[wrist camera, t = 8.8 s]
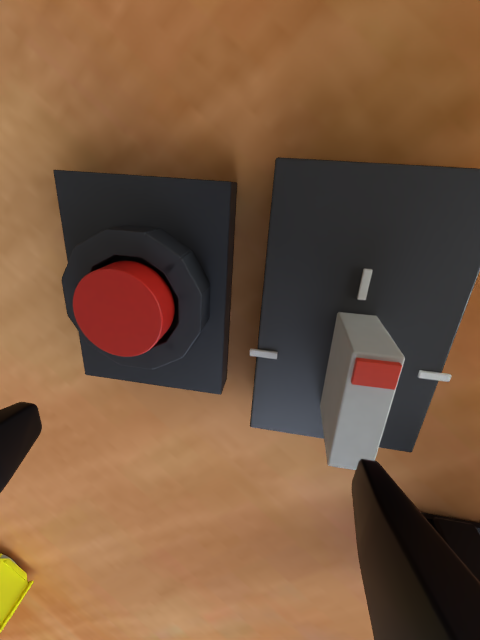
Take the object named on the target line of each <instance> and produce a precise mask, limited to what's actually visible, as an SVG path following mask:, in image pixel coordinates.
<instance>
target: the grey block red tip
mask: <svg viewBox="0 0 480 640" xmlns="http://www.w3.org/2000/svg"><path fill="white" fill-rule="evenodd" d="M404 360H405V357H404V355H403V354H402V353H401V351H400V350H399V348H398V347H397V345H396V344H395V342H394V341H393V339H392V338H391V336H390V335H389V333H388V332H387V330H386V329H385V327H384V326H383V325H382V323H381V322H380V320H379V319H378V317H377V316H373V315H363V314H353V313H343V312H338V313H337V318H336V323H335V328H334V334H333V339H332V344H331V350H330V355H329V360H328V366H327V371H326V376H325V382H324V387H323V392H322V398H321V403H320V410H321V418H322V425H323V433H324V441H325V448H326V456H327V463H328V465H329V466H333V467H339V468H346V469H352V470H356V468H357V465H358V462H359V460H360V459H368V460H373V461H375V458H376V454H377V451H378V448H379V444H380V441H381V438H382V434H383V431H384V428H385V424H386V421H387V418H388V414H389V411H390V407H391V404H392V401H393V397H394V394H395V391H396V387H397V384H398V381H399V377H400V374H401V371H402V367H403V364H404Z"/></svg>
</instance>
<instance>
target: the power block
mask: <svg viewBox="0 0 480 640" xmlns="http://www.w3.org/2000/svg"><path fill="white" fill-rule="evenodd" d="M54 177H55V183H56V190H57V196H58V202H59V209H60V215H61V222H62V228H63V234H64V241H65V247H66V253H67V260H68V264H67V267H66V269H65V272H64V274H63V277H62V285H63V291H64V297H65V303H66V309H67V314H68V316H69V318H70V319H71V321H72V322H73V324H74V325H75V327H76V328H77V329H78V331H79V336H80V343H81V349H82V356H83V362H84V368H85V374H86V375H91V376H98V377H105V378H112V379H119V380H125V381H132V382H139V383H146V384H153V385H159V386H166V387H173V388H180V389H186V390H193V391H200V392H207V393H214V394H220V395H221V394H222V391H223V388H224V385H225V382H226V379H227V360H228V342H229V323H230V305H231V286H232V268H233V249H234V231H235V212H236V194H237V183H236V182H230V181H215V180H200V179H185V178H170V177H155V176H140V175H125V174H110V173H95V172H80V171H65V170H54ZM118 261H135V262H138V263H142V264H144V265H146V266H148V267H150V268H151V269H153V270H154V271H155V272H157V273H158V274H159V275H160V276H161V277H162V278H163V279H164V281H165V282H166V283H167V285H168V286H169V288H170V290H171V293H172V296H173V299H174V305H175V314H174V319H173V322H172V324H171V326H170V328H169V329H168V331H167V332H166V333H165V334H164V335H163V336H162V337H161V339H160V340H159V341H158V342H157V343H156V344H155V345H154V346H153V347H152V348H151V349H150V350H149V351H147V352H145V353H143V354H140V355H137V356H132V357H123V356H117V355H113V354H110V353H108V352H105V351H103V350H102V349H100V348H98V347H97V346H96V345H94V344H93V343H92V342H91V341H90V340H89V339H88V338H87V337H86V336H85V335H84V333H83V332H82V330H81V329H80V327H79V325H78V323H77V321H76V318H75V315H74V311H73V296H74V292H75V289H76V287H77V285H78V283H79V282H80V281H81V279H82V278H83V277H84V276H85V275H87V274H88V273H90V272H92V271H94V270H97V269H99V268H102V267H104V266H107V265H109V264H112V263H114V262H118Z"/></svg>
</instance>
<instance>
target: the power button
mask: <svg viewBox="0 0 480 640" xmlns="http://www.w3.org/2000/svg"><path fill="white" fill-rule="evenodd" d="M73 311H74V315H75V318H76V321H77V323H78V325H79V327H80V329H81V330H82V332H83V333H84V335H85V336H86V337H87V338H88V339H89V340H90V341H91V342H92V343H93V344H94V345H96V346H97V347H98V348H100V349H102V350H103V351H105V352H108V353H110V354H113V355H117V356H123V357H132V356H137V355H140V354H143V353H145V352H147V351H149V350H150V349H151V348H152V347H153V346H154V345H155V344H156V343H157V342H158V341H159V340H160V339H161V337H162V336H163V335H164V334H165V333H166V332H167V331H168V329H169V328H170V326H171V324H172V322H173V319H174V314H175V305H174V299H173V296H172V293H171V290H170V288H169V286H168V285H167V283H166V282H165V281H164V279H163V278H162V277H161V276H160V275H159V274H158V273H157V272H155V271H154V270H153V269H151V268H150V267H148V266H146V265H144V264H142V263H138V262H135V261H118V262H114V263H112V264H109V265H107V266H104V267H102V268H99V269H97V270H94V271H92V272H90V273H88V274H87V275H85V276H84V277H83V278H82V279H81V281H80V282H79V283H78V285H77V287H76V289H75V292H74V296H73Z"/></svg>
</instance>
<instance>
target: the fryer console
mask: <svg viewBox="0 0 480 640" xmlns="http://www.w3.org/2000/svg"><path fill="white" fill-rule="evenodd" d="M479 271H480V169H476V168H458V167H440V166H423V165H405V164H387V163H369V162H352V161H334V160H316V159H299V158H281V157H278V158H276V160H275V171H274V181H273V191H272V202H271V212H270V223H269V233H268V243H267V254H266V264H265V275H264V285H263V295H262V306H261V316H260V327H259V337H258V347H257V349H250V356H256V357H257V358H256V368H255V379H254V389H253V399H252V410H251V420H250V427H254V428H260V429H267V430H273V431H279V432H286V433H292V434H298V435H305V436H311V437H317V438H324V433H323V425H322V418H321V410H320V403H321V398H322V392H323V387H324V382H325V376H326V371H327V366H328V360H329V355H330V350H331V344H332V339H333V334H334V328H335V323H336V318H337V313H338V312H343V313H353V314H363V315H373V316H377V317H378V319H379V320H380V322H381V323H382V325H383V326H384V327H385V329H386V330H387V332H388V333H389V335H390V336H391V338H392V339H393V341H394V342H395V344H396V345H397V347H398V348H399V350H400V351H401V353H402V354H403V355H404V357H405V360H404V364H403V367H402V371H401V374H400V377H399V381H398V384H397V387H396V391H395V394H394V397H393V401H392V404H391V407H390V411H389V414H388V418H387V421H386V424H385V428H384V431H383V434H382V438H381V441H380V444H379V447H381V448H387V449H393V450H400V451H406V452H412V450H413V448H414V445H415V442H416V440H417V437H418V434H419V432H420V429H421V426H422V424H423V421H424V418H425V416H426V413H427V410H428V407H429V405H430V402H431V399H432V397H433V394H434V391H435V389H436V386H437V383H438V381H447V382H449V381H450V378H451V375H450V374H446V373H442V370H443V367H444V365H445V362H446V359H447V357H448V354H449V351H450V349H451V346H452V343H453V341H454V338H455V335H456V333H457V330H458V327H459V325H460V322H461V319H462V317H463V314H464V311H465V309H466V306H467V303H468V300H469V298H470V295H471V292H472V290H473V287H474V284H475V282H476V279H477V276H478V274H479Z"/></svg>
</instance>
